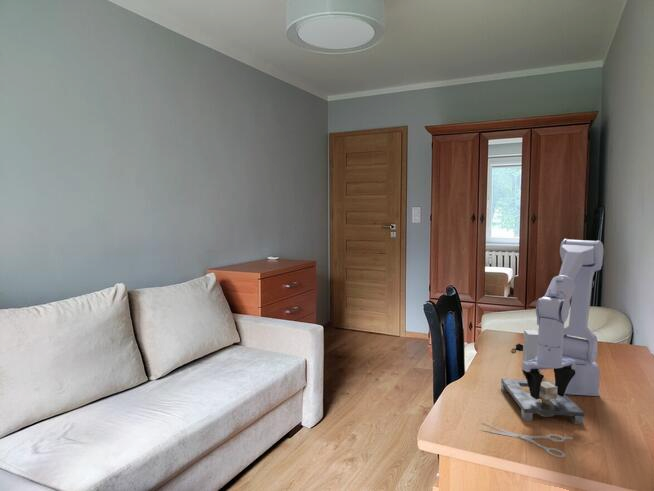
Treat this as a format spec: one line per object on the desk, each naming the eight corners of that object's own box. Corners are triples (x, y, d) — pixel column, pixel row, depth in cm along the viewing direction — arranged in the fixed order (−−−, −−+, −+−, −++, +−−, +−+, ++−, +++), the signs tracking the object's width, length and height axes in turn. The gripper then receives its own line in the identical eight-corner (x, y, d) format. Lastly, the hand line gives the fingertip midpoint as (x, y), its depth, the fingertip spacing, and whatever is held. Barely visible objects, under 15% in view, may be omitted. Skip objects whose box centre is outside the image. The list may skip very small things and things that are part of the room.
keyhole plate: (551, 391, 128) (551, 381, 128) (583, 424, 108) (584, 412, 108) (501, 388, 129) (501, 378, 129) (523, 420, 110) (524, 408, 109)
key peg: (545, 408, 117) (547, 380, 116) (558, 416, 112) (560, 387, 112) (531, 410, 115) (533, 382, 115) (544, 417, 111) (545, 388, 111)
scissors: (573, 460, 92) (473, 433, 102) (572, 463, 92) (473, 437, 102) (573, 437, 101) (482, 415, 111) (573, 440, 101) (482, 418, 111)
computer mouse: (510, 361, 154) (511, 350, 154) (511, 348, 170) (511, 337, 170) (550, 367, 150) (550, 355, 149) (546, 352, 166) (547, 342, 165)
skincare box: (539, 371, 144) (542, 335, 143) (526, 370, 145) (528, 334, 144) (535, 365, 150) (537, 330, 149) (521, 363, 151) (523, 329, 150)
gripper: (561, 338, 118) (558, 387, 119) (515, 341, 114) (512, 392, 115) (583, 346, 111) (579, 398, 112) (534, 349, 107) (531, 403, 108)
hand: (547, 396), depth 113 cm, fingers open, 7 cm apart
